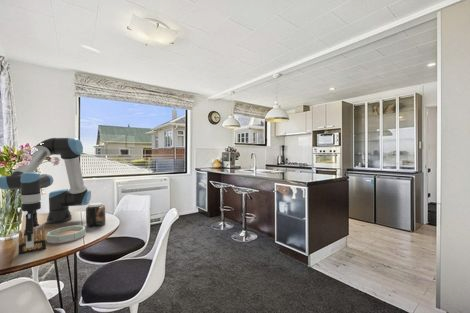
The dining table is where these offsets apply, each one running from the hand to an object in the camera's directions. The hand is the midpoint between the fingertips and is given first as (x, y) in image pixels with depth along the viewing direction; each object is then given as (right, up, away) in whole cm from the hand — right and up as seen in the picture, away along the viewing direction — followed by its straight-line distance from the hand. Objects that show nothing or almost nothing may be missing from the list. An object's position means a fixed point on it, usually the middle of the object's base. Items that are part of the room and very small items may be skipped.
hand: (32, 243), depth 117 cm
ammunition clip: (0, -5, 0) cm, 5 cm away
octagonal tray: (+3, -4, +20) cm, 20 cm away
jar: (+7, -4, +43) cm, 44 cm away
